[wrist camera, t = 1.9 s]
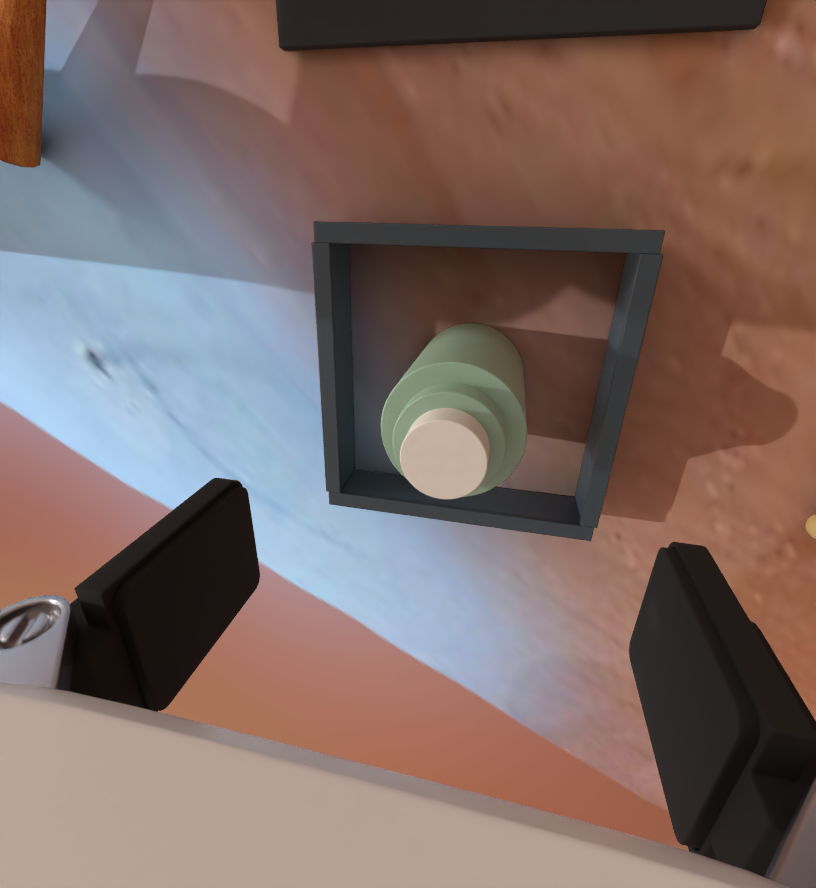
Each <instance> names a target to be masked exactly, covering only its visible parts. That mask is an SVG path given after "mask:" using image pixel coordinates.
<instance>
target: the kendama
mask: <svg viewBox="0 0 816 888" xmlns="http://www.w3.org/2000/svg"><path fill="white" fill-rule="evenodd" d="M45 26H46V0H0V160H1V161H4V162H6V163H10V164H13V165H17V166H21V167H36V166H38V165H40V161H41V136H42V108H43V81H44V54H45Z"/></svg>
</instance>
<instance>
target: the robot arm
mask: <svg viewBox="0 0 816 888" xmlns="http://www.w3.org/2000/svg"><path fill="white" fill-rule="evenodd" d="M259 578H260V572H259V565H258V558H257V551H256V545H255V538H254V531H253V524H252V517H251V510H250V504H249V497H248V492H247V490H246V488H244V487H242V484H241V483H240V482H239V481H236V480H229V479H222V478H214V479H212V480H211V481H209V482H208V483H207V484H206V485H204V486H203V487H202V488H201V489H199V490H198V491H197V492H196V493H194V494H193V495H192V496H190V497H189V498H188V499H187V500H185V501H184V502H183V503H182V504H180V505H179V506H178V507H177V508H175V509H174V510H173V511H172V512H170V513H169V514H168V515H166V516H165V517H164V518H163V519H161V520H160V521H159V522H158V523H156V524H155V525H154V526H153V527H151V528H150V529H149V530H148V531H146V532H145V533H144V534H142V535H141V536H140V537H139V538H138V539H136V540H135V541H134V542H132V543H131V544H130V545H129V546H127V547H126V548H125V549H124V550H122V551H121V552H120V553H118V554H117V555H116V556H115V557H113V558H112V559H111V560H110V561H109V562H107V563H106V564H105V565H103V566H102V567H101V568H99V569H98V570H97V571H96V572H95V573H93V574H92V575H91V576H89V577H88V578H87V579H86V580H84V581H83V582H82V583H81V584H79V585H78V586H77V587H75V591H76V594H77V596H78V598H77V599H76V600H75V601H73V602H72V603H71V604H69V602H68V601H67V600H66V599H65V598H62V597H59V596H47V595H46V596H45V595H44V596H38V597H33V598H29V599H26V600H23V601H20V602H17V603H14V604H12V605H10V606H8V607H6V608H4V609H2V610H0V888H816V721H815V720H814V718H813V716H812V715H811V713H810V711H809V710H808V708H807V706H806V705H805V703H804V701H803V700H802V698H801V696H800V695H799V693H798V691H797V690H796V688H795V686H794V685H793V683H792V682H791V680H790V678H789V677H788V675H787V673H786V672H785V670H784V668H783V667H782V665H781V663H780V662H779V660H778V658H777V657H776V655H775V653H774V652H773V650H772V648H771V647H770V645H769V644H768V642H767V640H766V639H765V637H764V635H763V634H762V632H761V630H760V629H759V628H758V627H757V625H756V624H755V623H753V622H751V621H750V620H749V618H748V617H747V615H746V613H745V612H744V610H743V608H742V607H741V605H740V603H739V601H738V600H737V598H736V596H735V595H734V593H733V591H732V590H731V588H730V586H729V585H728V583H727V581H726V580H725V578H724V576H723V574H722V573H721V571H720V569H719V568H718V566H717V564H716V563H715V561H714V559H713V558H712V556H711V554H710V553H709V551H708V549H707V548H706V547H704V546H700V545H692V544H685V543H678V542H672V543H671V544H670V545H669V547H668V548H663V547H662V548H660V550H659V551H658V554H657V557H656V560H655V563H654V567H653V570H652V573H651V576H650V579H649V583H648V586H647V589H646V592H645V595H644V599H643V602H642V605H641V608H640V612H639V615H638V618H637V621H636V624H635V628H634V631H633V634H632V637H631V640H630V646H629V655H630V662H631V665H632V669H633V673H634V677H635V681H636V685H637V689H638V693H639V697H640V701H641V704H642V708H643V712H644V716H645V720H646V724H647V728H648V732H649V736H650V740H651V743H652V747H653V751H654V755H655V759H656V763H657V767H658V771H659V775H660V779H661V782H662V786H663V790H664V794H665V798H666V802H667V806H668V810H669V814H670V818H671V822H672V825H673V829H674V833H675V836H676V838H677V840H678V842H679V843H680V844H682V845H687V846H688V848H689V851H686V850H683V849H680V848H676V847H672V846H669V845H665V844H661V843H658V842H654V841H651V840H647V839H644V838H640V837H637V836H633V835H630V834H626V833H622V832H619V831H615V830H612V829H608V828H604V827H601V826H598V825H594V824H590V823H587V822H583V821H580V820H576V819H572V818H569V817H564V816H561V815H557V814H553V813H550V812H545V811H542V810H538V809H534V808H531V807H527V806H523V805H519V804H515V803H511V802H508V801H504V800H500V799H496V798H492V797H488V796H485V795H481V794H477V793H473V792H470V791H466V790H462V789H458V788H454V787H450V786H446V785H443V784H439V783H435V782H431V781H428V780H424V779H420V778H416V777H412V776H408V775H404V774H401V773H396V772H393V771H389V770H385V769H381V768H377V767H373V766H369V765H365V764H362V763H357V762H354V761H350V760H346V759H342V758H338V757H334V756H330V755H326V754H322V753H318V752H315V751H311V750H306V749H303V748H299V747H295V746H291V745H287V744H283V743H280V742H276V741H272V740H268V739H264V738H260V737H256V736H252V735H248V734H244V733H240V732H236V731H232V730H228V729H224V728H220V727H216V726H212V725H208V724H204V723H200V722H196V721H192V720H188V719H184V718H180V717H176V716H172V715H168V714H164V713H160V712H158V710H159V711H161V710H163V709H165V708H166V707H167V706H168V705H169V704H170V703H171V701H172V700H173V699H174V697H175V696H176V695H177V693H178V692H179V691H180V689H181V688H182V687H183V685H184V684H185V683H186V681H187V680H188V679H189V677H190V676H191V675H192V673H193V672H194V671H195V669H196V668H197V667H198V665H199V664H200V663H201V661H202V660H203V658H204V657H205V656H206V655H207V653H208V652H209V651H210V649H211V648H212V647H213V645H214V644H215V643H216V641H217V640H218V639H219V637H220V636H221V635H222V633H223V632H224V631H225V629H226V628H227V627H228V625H229V624H230V623H231V621H232V620H233V619H234V617H235V616H236V615H237V613H238V612H239V611H240V609H241V608H242V607H243V605H244V604H245V603H246V601H247V600H248V599H249V597H250V596H251V595H252V593H253V592H254V591H255V589H256V588H257V585H258V583H259Z"/></svg>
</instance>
